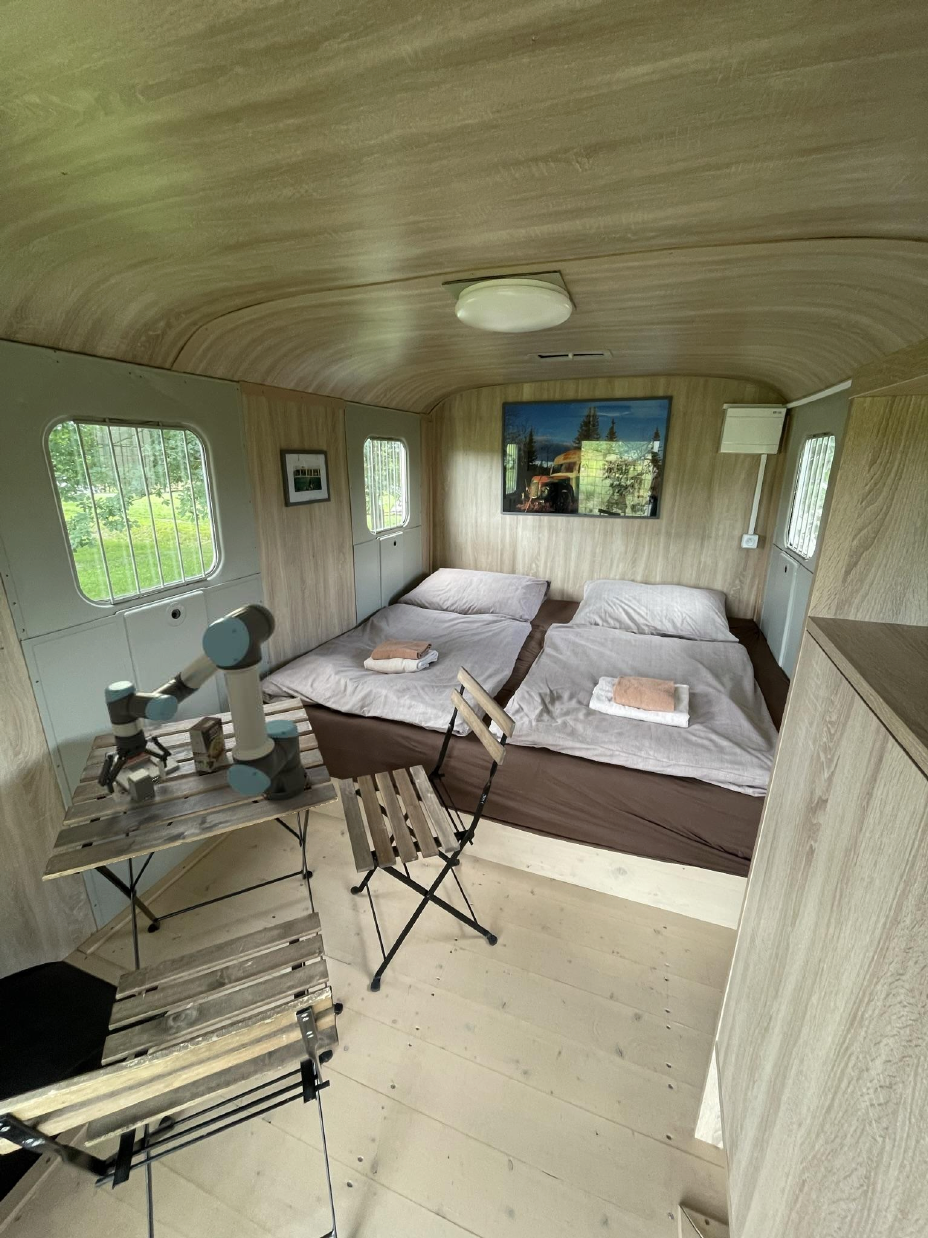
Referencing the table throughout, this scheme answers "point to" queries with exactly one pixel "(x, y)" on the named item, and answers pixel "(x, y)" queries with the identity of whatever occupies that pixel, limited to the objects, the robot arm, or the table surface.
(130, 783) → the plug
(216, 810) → the table surface
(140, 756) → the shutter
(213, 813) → the table surface
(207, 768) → the coffee box
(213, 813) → the table surface
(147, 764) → the socket plate
